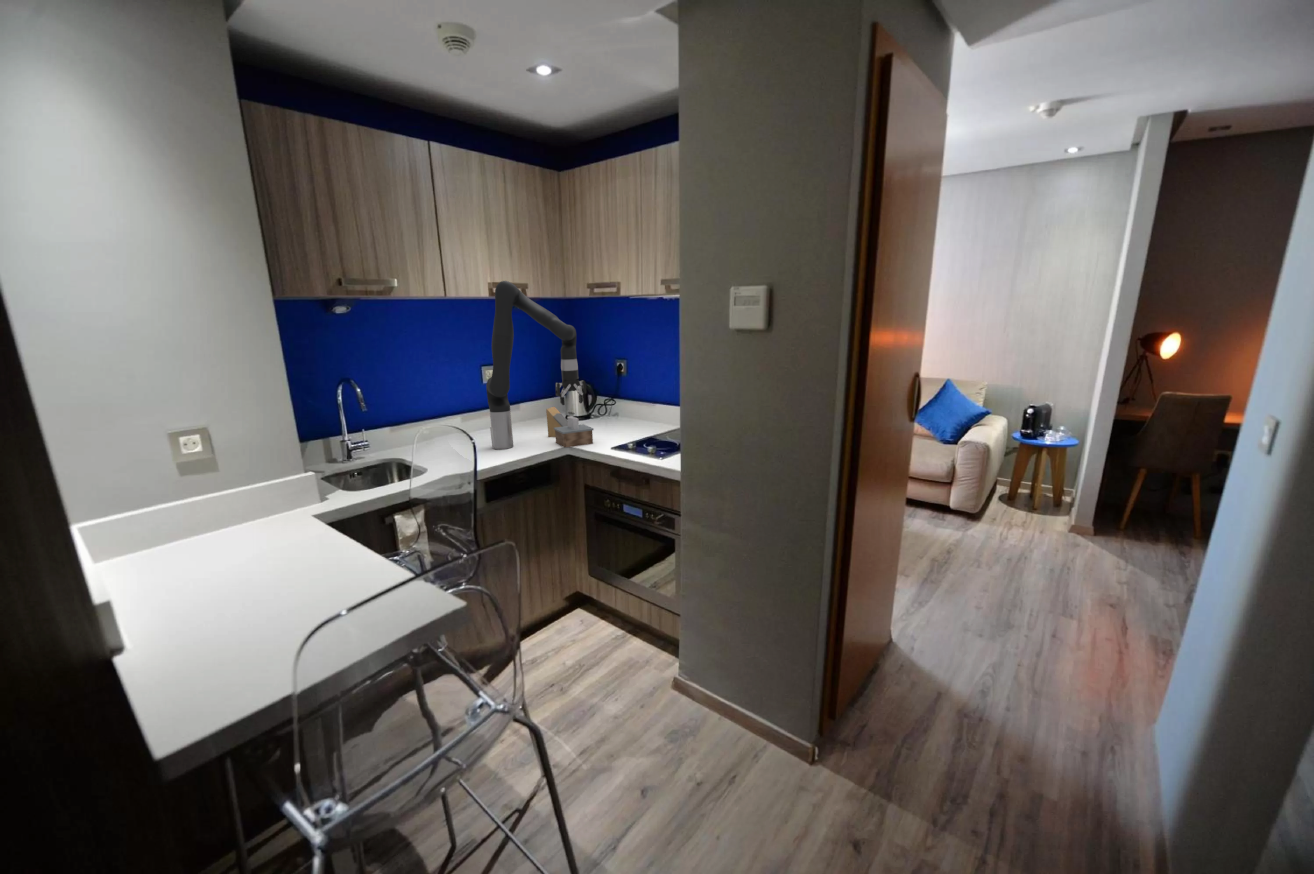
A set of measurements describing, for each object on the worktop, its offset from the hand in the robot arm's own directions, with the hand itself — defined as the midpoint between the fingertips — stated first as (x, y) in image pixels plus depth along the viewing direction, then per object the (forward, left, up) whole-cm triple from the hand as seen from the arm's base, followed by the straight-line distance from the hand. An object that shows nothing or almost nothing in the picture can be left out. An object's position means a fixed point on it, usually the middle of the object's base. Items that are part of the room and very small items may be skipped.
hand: (572, 404), depth 245 cm
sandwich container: (+2, +18, -20) cm, 27 cm away
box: (0, 0, -19) cm, 19 cm away
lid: (0, 0, -13) cm, 13 cm away
